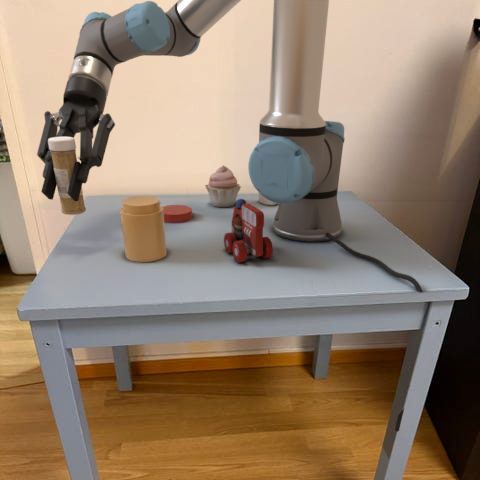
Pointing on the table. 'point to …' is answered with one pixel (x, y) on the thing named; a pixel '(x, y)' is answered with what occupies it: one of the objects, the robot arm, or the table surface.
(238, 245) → the toy fire truck
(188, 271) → the table surface
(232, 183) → the cupcake
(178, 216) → the lid
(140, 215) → the jar
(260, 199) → the eye dropper bottle
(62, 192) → the sprinkles bottle
